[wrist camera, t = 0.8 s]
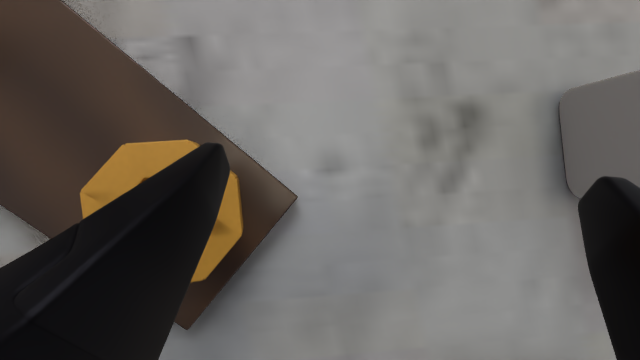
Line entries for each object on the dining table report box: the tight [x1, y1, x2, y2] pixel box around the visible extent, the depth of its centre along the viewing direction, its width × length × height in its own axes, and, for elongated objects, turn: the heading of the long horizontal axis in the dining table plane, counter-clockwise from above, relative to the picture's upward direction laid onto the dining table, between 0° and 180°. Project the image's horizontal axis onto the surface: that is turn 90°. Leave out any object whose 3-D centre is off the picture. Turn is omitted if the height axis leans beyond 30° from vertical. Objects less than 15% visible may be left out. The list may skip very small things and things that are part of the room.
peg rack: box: [0, 0, 297, 330], centre depth 14 cm, size 10×24×8 cm, turn 50°
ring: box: [80, 140, 243, 282], centre depth 17 cm, size 7×7×2 cm
